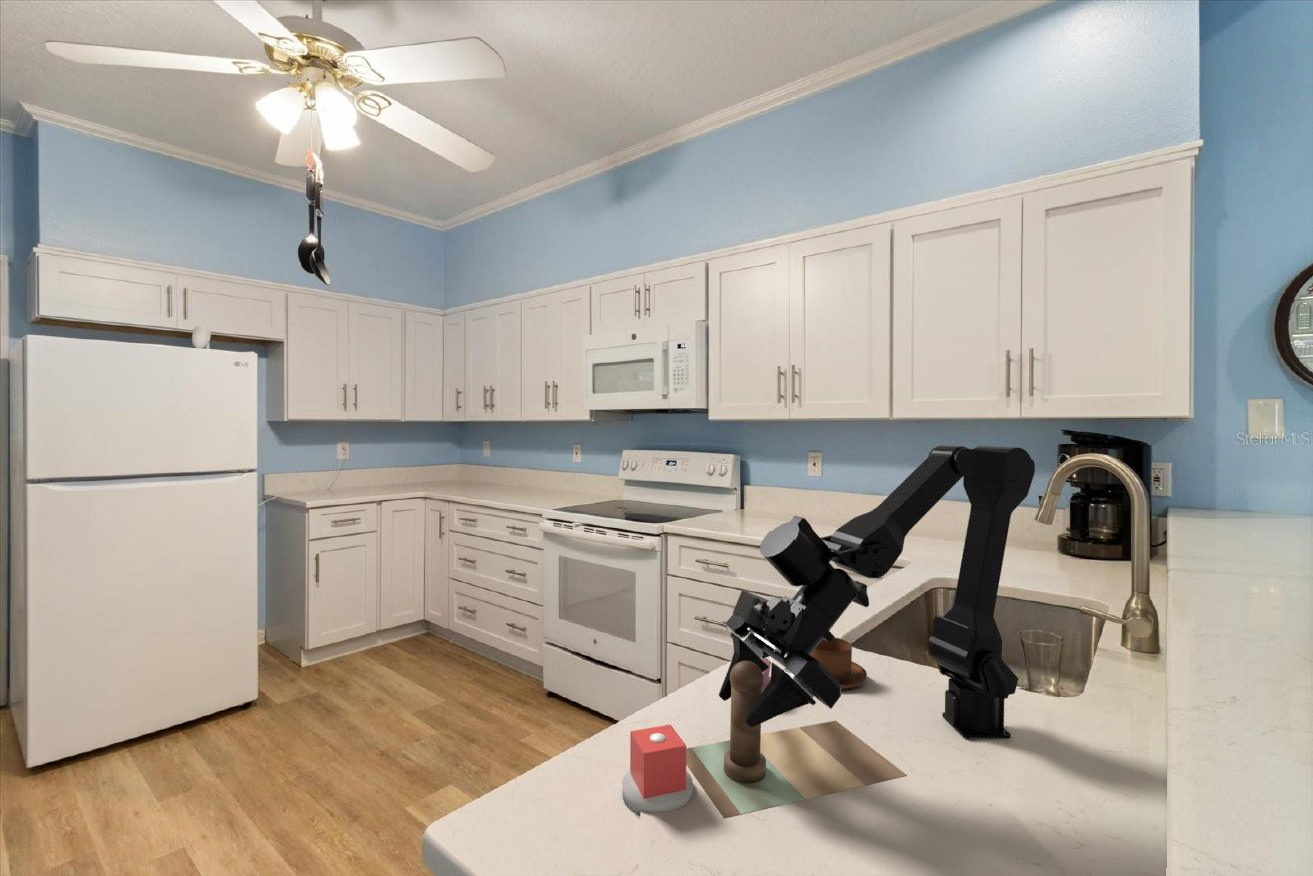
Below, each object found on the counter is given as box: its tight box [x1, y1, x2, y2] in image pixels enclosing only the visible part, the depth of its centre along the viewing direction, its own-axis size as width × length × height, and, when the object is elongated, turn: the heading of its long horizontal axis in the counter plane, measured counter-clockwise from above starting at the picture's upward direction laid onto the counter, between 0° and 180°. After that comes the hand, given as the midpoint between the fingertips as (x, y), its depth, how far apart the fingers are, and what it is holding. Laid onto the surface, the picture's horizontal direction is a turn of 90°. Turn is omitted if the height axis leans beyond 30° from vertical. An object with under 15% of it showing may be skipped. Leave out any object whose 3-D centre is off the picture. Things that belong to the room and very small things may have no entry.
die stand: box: [622, 724, 694, 815], centre depth 69 cm, size 8×8×7 cm
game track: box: [686, 720, 908, 819], centre depth 75 cm, size 24×14×1 cm, turn 109°
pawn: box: [724, 661, 766, 783], centre depth 72 cm, size 5×5×13 cm
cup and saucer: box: [810, 637, 868, 691], centre depth 100 cm, size 12×12×6 cm
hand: (733, 711), depth 72 cm, fingers open, 7 cm apart
